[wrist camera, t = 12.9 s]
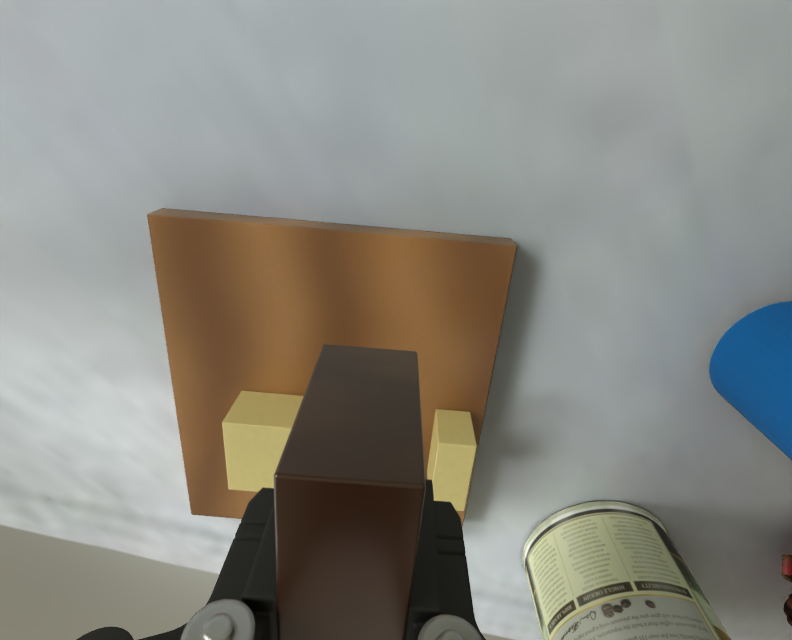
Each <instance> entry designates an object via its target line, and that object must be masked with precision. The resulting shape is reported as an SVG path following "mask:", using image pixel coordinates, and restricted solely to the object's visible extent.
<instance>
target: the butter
mask: <svg viewBox="0 0 792 640" xmlns="http://www.w3.org/2000/svg"><path fill="white" fill-rule="evenodd" d="M303 397H304V396H299V395H287V394H276V393H264V392H253V391H241V393H240V394H239V396H238V397H237V399H236V401H235V402H234V404H233V406H232V407H231V409H230V410H229V412H228V414H227V415H226V417H225V419H224V420H223V422H222V427H223V438H224V448H225V458H226V468H227V478H228V489H230V490H242V491H253V492H259V491H260V490H261V489H262V488H274V473H275V471H276V468H277V466H278V463H279V460H280V458H281V455H282V452H283V450H284V447H285V444H286V442H287V439H288V436H289V434H290V431H291V428H292V426H293V423H294V420H295V418H296V415H297V412H298V410H299V407H300V405H301V402H302V399H303Z"/></svg>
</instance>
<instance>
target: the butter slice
mask: <svg viewBox="0 0 792 640" xmlns="http://www.w3.org/2000/svg"><path fill="white" fill-rule="evenodd" d="M476 448H477V445H476V440H475V435H474V430H473V424H472V419H471V414H470V412H466V411H454V410H443V409H436V410H435V417H434V425H433V432H432V439H431V446H430V453H429V460H428V467H427V479H428V480H432V483H433V495H434V501H446V502H451V503H452V505H453V506H454V508H455V510H456V511H464V509H465V504H466V499H467V494H468V489H469V484H470V478H471V473H472V468H473V463H474V458H475V453H476Z"/></svg>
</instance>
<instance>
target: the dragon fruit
mask: <svg viewBox="0 0 792 640" xmlns="http://www.w3.org/2000/svg"><path fill="white" fill-rule="evenodd" d="M782 560H783V562H782V576H783V577H784V578H785V579H786V580H788V581H790V582H792V555H783V559H782ZM791 589H792V588H791ZM784 598H785V597H784ZM784 613H785V615H786V616H787V621H788V623H789V624H790V625H791V626H792V593H791V594H790V595H789V598H788V599H787V600H786V602H785V603H784Z"/></svg>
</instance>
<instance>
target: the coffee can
mask: <svg viewBox="0 0 792 640" xmlns="http://www.w3.org/2000/svg"><path fill="white" fill-rule="evenodd" d="M522 563H523V568H524V571H525V573H526V575H527V579H528V583H529V587H530V591H531V595H532V599H533V603H534V607H535V611H536V615H537V619H538V623H539V627H540V631H541V635H542V639H543V640H731V639H730V637H729V636H728V634H727V632H726V631H725V629H724V627H723V626H722V624H721V622H720V621H719V619H718V617H717V616H716V614H715V612H714V611H713V609H712V607H711V606H710V604H709V603H708V601H707V599H706V598H705V596H704V594H703V593H702V591H701V589H700V588H699V586H698V584H697V583H696V581H695V579H694V578H693V576H692V574H691V573H690V571H689V569H688V568H687V566H686V564H685V563H684V561H683V559H682V558H681V556H680V555H679V553H678V551H677V550H676V548H675V546H674V545H673V543H672V541H671V540H670V538H669V536H668V534H667V531H666V530H665V528H664V526H663V525H662V524H661V522H660V521H659V520H658V519H657V518H656V517H655V516H653V515H652V514H651V513H649V512H648V511H646V510H644V509H642V508H640V507H637V506H634V505H631V504H627V503H623V502H615V501H595V502H586V503H582V504H579V505H575V506H571V507H568V508H565V509H563V510H561V511H559V512H557V513H555V514H553V515H552V516H550V517H549V518H547V519H546V520H544V521H543V522H542V523H541V524H540V525H538V526H537V527H536V528H535V529H534V531H533V532H532V533H531V535H530V536H529V537H528V539H527V541H526V543H525V546H524V549H523V554H522Z"/></svg>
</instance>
